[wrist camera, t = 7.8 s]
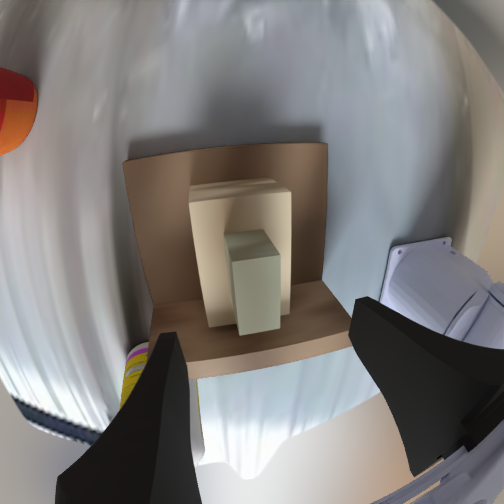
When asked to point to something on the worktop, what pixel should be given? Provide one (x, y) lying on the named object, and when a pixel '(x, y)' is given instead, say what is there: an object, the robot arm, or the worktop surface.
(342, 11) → the worktop surface
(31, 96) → the coffee cup
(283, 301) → the saddle block
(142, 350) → the supplement bottle
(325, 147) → the cleat board
